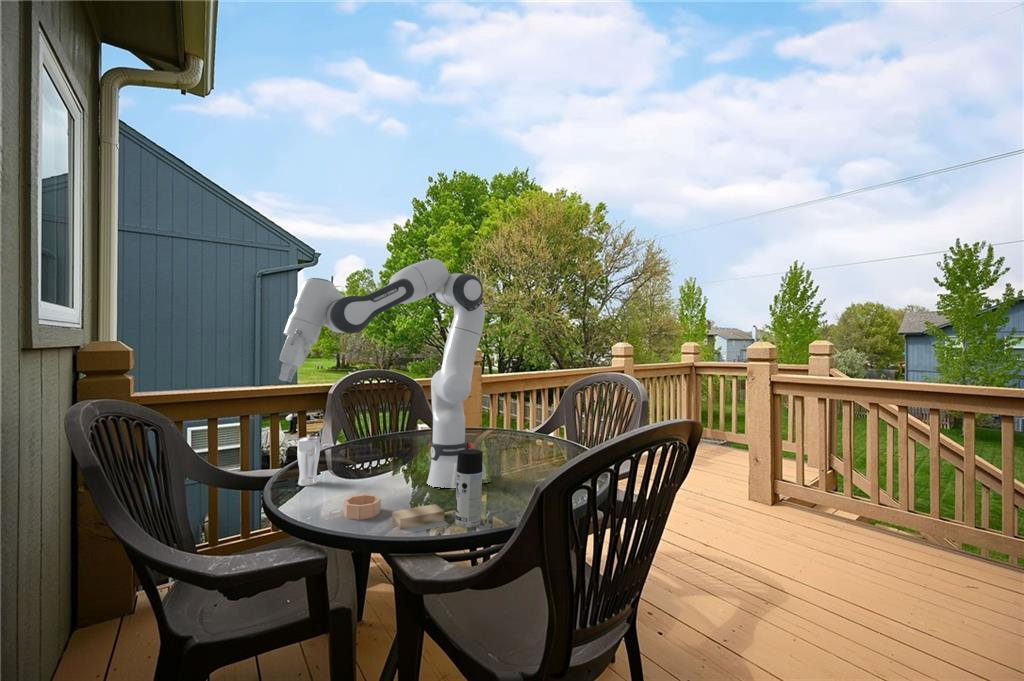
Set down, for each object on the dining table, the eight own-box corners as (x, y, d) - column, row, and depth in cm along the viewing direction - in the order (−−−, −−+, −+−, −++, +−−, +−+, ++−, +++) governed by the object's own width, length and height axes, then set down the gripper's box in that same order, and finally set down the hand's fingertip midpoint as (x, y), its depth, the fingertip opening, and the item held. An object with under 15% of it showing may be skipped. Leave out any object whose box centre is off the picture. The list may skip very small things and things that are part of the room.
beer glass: (322, 480, 161) (324, 437, 161) (312, 487, 154) (313, 441, 154) (303, 479, 162) (304, 436, 162) (292, 486, 155) (293, 440, 155)
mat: (430, 515, 131) (430, 510, 131) (449, 530, 121) (449, 524, 121) (388, 523, 125) (388, 517, 125) (404, 540, 115) (404, 533, 115)
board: (435, 513, 129) (435, 503, 129) (444, 520, 124) (444, 510, 124) (392, 521, 122) (392, 511, 122) (400, 529, 117) (400, 519, 117)
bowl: (373, 510, 134) (374, 492, 134) (383, 520, 127) (383, 502, 127) (340, 516, 129) (341, 497, 129) (349, 527, 122) (349, 507, 122)
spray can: (455, 523, 126) (457, 448, 126) (480, 522, 127) (482, 448, 127) (454, 533, 120) (456, 454, 120) (481, 533, 120) (483, 454, 120)
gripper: (310, 331, 122) (291, 383, 119) (316, 340, 141) (300, 384, 138) (284, 324, 120) (265, 376, 117) (294, 333, 139) (278, 378, 137)
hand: (284, 380), depth 128 cm, fingers open, 8 cm apart
